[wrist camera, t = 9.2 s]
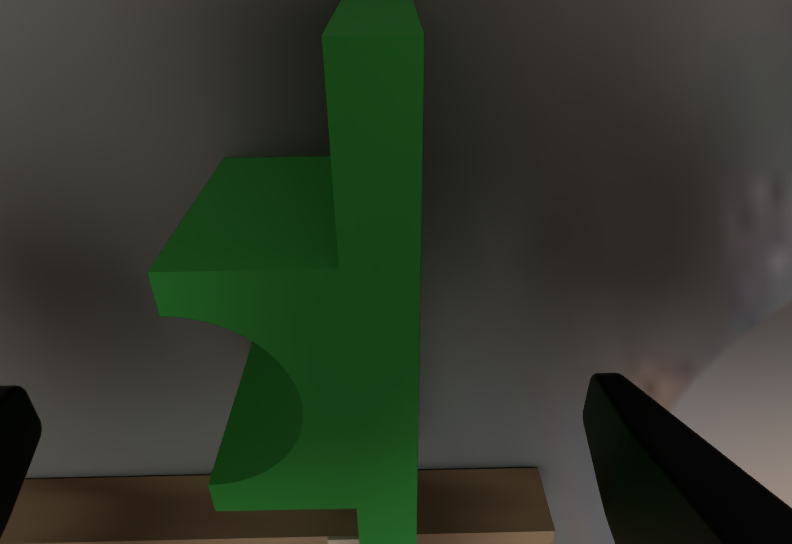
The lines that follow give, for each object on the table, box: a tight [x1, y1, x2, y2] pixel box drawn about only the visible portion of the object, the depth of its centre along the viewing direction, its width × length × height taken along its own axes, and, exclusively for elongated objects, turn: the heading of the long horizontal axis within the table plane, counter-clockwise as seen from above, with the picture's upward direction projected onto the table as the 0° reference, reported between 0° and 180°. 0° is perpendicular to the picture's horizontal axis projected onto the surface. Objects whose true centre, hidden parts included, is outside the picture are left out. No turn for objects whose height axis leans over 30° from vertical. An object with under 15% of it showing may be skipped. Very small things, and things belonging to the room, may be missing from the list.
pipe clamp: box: [147, 0, 424, 544], centre depth 11 cm, size 11×4×5 cm, turn 1°
